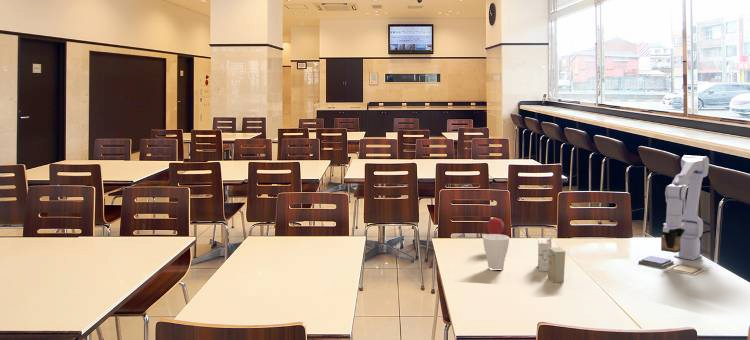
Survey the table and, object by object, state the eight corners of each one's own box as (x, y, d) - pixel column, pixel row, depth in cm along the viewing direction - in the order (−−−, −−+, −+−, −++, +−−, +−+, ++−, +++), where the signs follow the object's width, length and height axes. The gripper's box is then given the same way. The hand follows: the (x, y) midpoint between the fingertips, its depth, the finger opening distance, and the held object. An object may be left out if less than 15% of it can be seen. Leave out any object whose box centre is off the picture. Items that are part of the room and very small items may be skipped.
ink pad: (649, 259, 265) (649, 255, 264) (673, 263, 257) (673, 259, 257) (638, 263, 258) (638, 259, 258) (662, 268, 251) (662, 264, 250)
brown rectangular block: (665, 248, 256) (665, 234, 255) (680, 251, 251) (680, 236, 251) (661, 250, 253) (661, 236, 253) (675, 252, 249) (676, 238, 248)
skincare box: (547, 278, 240) (548, 247, 238) (558, 277, 240) (559, 247, 239) (553, 282, 233) (554, 251, 232) (564, 282, 234) (565, 251, 232)
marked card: (677, 264, 256) (677, 263, 256) (705, 269, 248) (705, 268, 248) (665, 269, 249) (665, 268, 249) (694, 275, 241) (694, 274, 241)
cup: (510, 266, 256) (510, 234, 254) (507, 273, 246) (507, 240, 244) (484, 264, 259) (485, 233, 257) (480, 271, 249) (481, 238, 247)
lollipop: (487, 252, 279) (487, 219, 277) (486, 247, 287) (487, 216, 285) (504, 252, 278) (504, 220, 276) (503, 248, 285) (504, 216, 283)
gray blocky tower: (537, 265, 257) (538, 231, 255) (549, 266, 256) (550, 231, 254) (538, 271, 249) (539, 235, 247) (551, 272, 248) (552, 236, 246)
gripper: (672, 210, 258) (670, 242, 259) (656, 215, 248) (654, 248, 250) (689, 212, 252) (688, 245, 254) (673, 217, 243) (672, 251, 245)
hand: (672, 246), depth 252 cm, fingers closed on brown rectangular block, 4 cm apart
